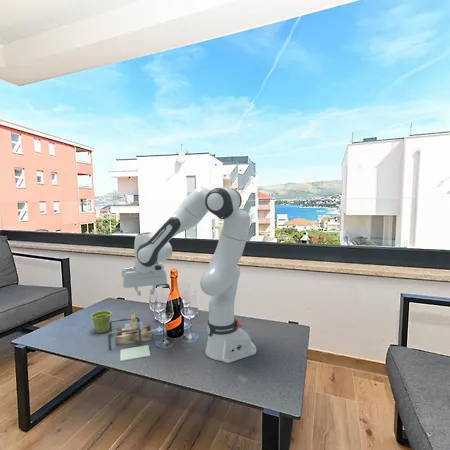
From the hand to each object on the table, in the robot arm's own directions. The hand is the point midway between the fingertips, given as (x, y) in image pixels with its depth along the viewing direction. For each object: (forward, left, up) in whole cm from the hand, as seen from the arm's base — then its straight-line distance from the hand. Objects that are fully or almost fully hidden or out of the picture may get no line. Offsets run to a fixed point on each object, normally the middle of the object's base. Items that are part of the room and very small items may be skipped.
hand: (145, 294), depth 139 cm
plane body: (+8, 0, -21) cm, 22 cm away
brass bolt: (+6, 0, -13) cm, 14 cm away
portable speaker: (-10, -17, -21) cm, 29 cm away
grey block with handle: (+6, 0, -18) cm, 19 cm away
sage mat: (+6, +14, -21) cm, 26 cm away
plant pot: (+21, -14, -21) cm, 33 cm away
